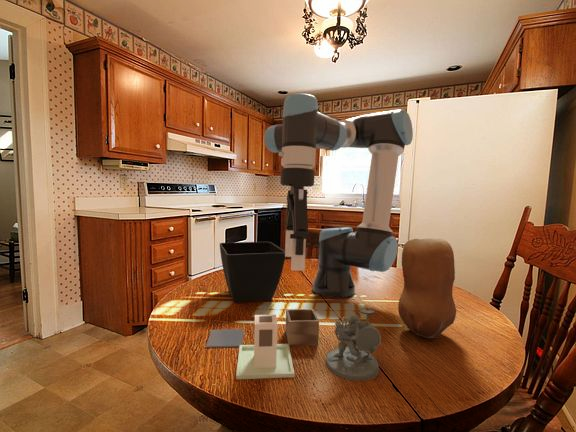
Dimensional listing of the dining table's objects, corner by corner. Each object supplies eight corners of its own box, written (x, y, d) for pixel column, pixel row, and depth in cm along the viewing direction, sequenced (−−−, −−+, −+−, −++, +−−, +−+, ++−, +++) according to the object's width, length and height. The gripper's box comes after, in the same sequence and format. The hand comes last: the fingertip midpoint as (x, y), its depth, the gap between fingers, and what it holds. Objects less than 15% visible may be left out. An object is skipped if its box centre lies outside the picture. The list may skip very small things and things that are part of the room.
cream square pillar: (275, 355, 63) (276, 314, 63) (276, 367, 59) (277, 323, 58) (253, 355, 63) (254, 314, 62) (253, 368, 58) (254, 324, 58)
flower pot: (285, 302, 94) (287, 251, 93) (226, 309, 88) (227, 253, 87) (269, 284, 112) (270, 241, 111) (218, 289, 106) (219, 242, 104)
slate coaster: (243, 331, 74) (243, 329, 74) (241, 348, 66) (242, 345, 66) (211, 332, 73) (211, 329, 73) (205, 349, 65) (205, 346, 65)
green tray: (288, 348, 67) (288, 343, 67) (294, 378, 56) (294, 373, 56) (239, 349, 66) (239, 345, 66) (235, 380, 55) (236, 375, 55)
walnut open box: (312, 331, 75) (313, 309, 75) (318, 346, 68) (319, 321, 68) (285, 332, 74) (286, 309, 74) (288, 346, 67) (288, 321, 67)
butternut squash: (399, 319, 84) (404, 232, 82) (452, 329, 78) (459, 237, 76) (394, 340, 72) (400, 239, 70) (457, 355, 66) (465, 245, 64)
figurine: (321, 352, 66) (323, 300, 65) (368, 351, 66) (371, 299, 66) (332, 383, 55) (335, 321, 54) (388, 381, 56) (391, 320, 55)
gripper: (277, 171, 77) (274, 251, 79) (286, 160, 52) (281, 277, 54) (305, 173, 78) (302, 252, 79) (327, 162, 53) (321, 278, 55)
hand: (293, 262), depth 67 cm, fingers open, 13 cm apart
